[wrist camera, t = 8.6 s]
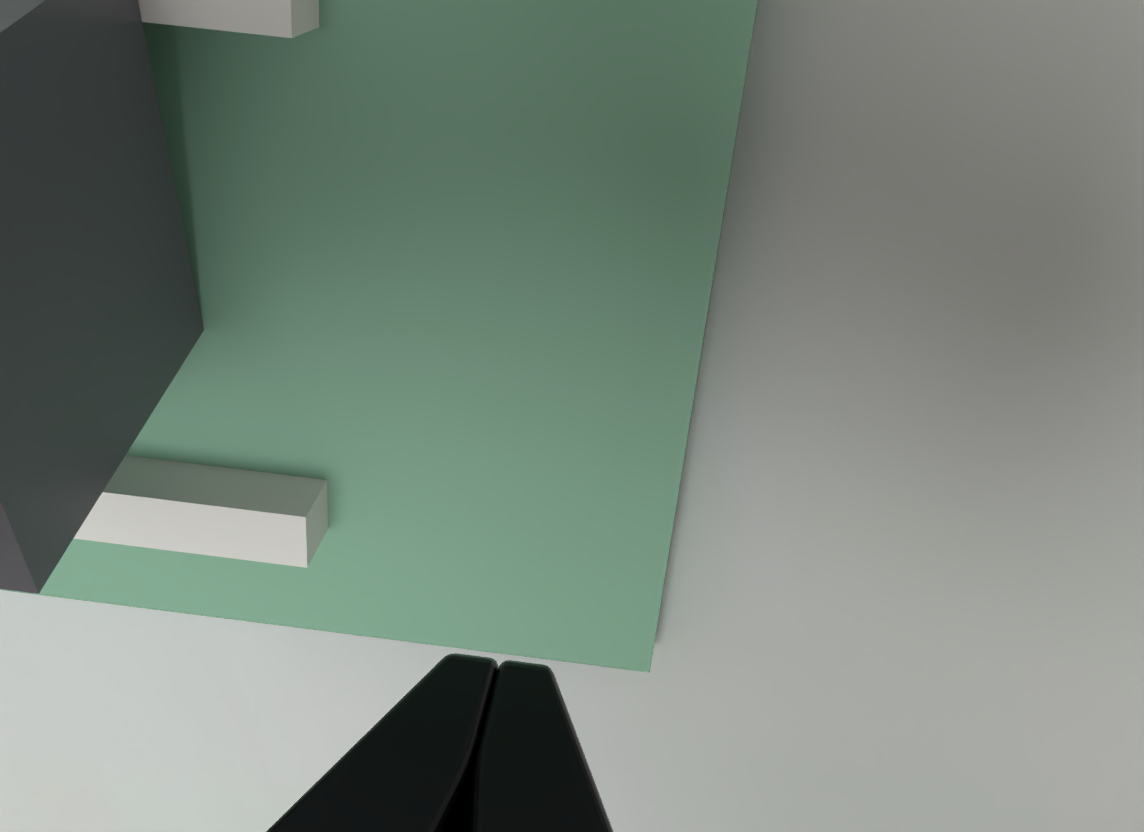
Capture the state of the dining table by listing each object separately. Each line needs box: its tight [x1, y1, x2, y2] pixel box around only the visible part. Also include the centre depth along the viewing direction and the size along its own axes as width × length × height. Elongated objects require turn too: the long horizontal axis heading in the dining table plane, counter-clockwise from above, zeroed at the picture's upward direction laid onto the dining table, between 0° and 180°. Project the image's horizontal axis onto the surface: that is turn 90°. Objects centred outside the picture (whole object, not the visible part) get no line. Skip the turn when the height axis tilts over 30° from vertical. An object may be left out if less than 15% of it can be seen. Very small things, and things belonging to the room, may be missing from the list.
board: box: [0, 0, 758, 672], centre depth 15 cm, size 20×14×5 cm
